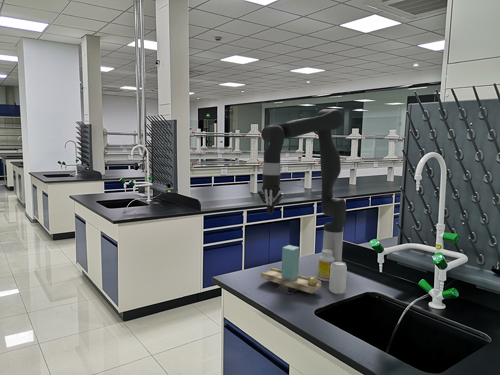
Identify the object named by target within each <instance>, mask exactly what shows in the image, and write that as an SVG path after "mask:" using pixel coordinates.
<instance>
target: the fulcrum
mask: <svg viewBox="0 0 500 375" xmlns="http://www.w3.org/2000/svg"><path fill="white" fill-rule="evenodd" d="M275 290H276V291H277V290H278V291H277V292H280V291H281V293H284V294H287V295H290V296H291V295H293V293H296V292H297V291H299V289H295V288H292V287H289V286H285V285H282V284H280V285H279V286H277V287H276V288H275Z"/></svg>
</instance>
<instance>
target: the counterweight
mask: <svg viewBox="0 0 500 375" xmlns="http://www.w3.org/2000/svg"><path fill="white" fill-rule="evenodd" d="M307 277H308V286H311V287H316V286H317V280H318V277H317V276H314V275H309V276H307Z"/></svg>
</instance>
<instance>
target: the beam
mask: <svg viewBox="0 0 500 375" xmlns="http://www.w3.org/2000/svg"><path fill="white" fill-rule="evenodd" d="M281 274H282V269H278V268H274V267H270V269H269V270H267V271H264V272H260V279H263V280H265V281H270V282H273V283H275V284H279V285H281V284H282V285H285V286H289V287H292V288H295V289H298V291H302V292H306V293H309V294H313V293H315V292H316V291H318V290H319V289H321V288H322V280H320V279H317V286H316V287H311V286H308V277H309V276H303V275H301V274H300V275H299V274H298V278H297V279H295V280H294V281H290V280H287V279H283V278H281Z"/></svg>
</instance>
